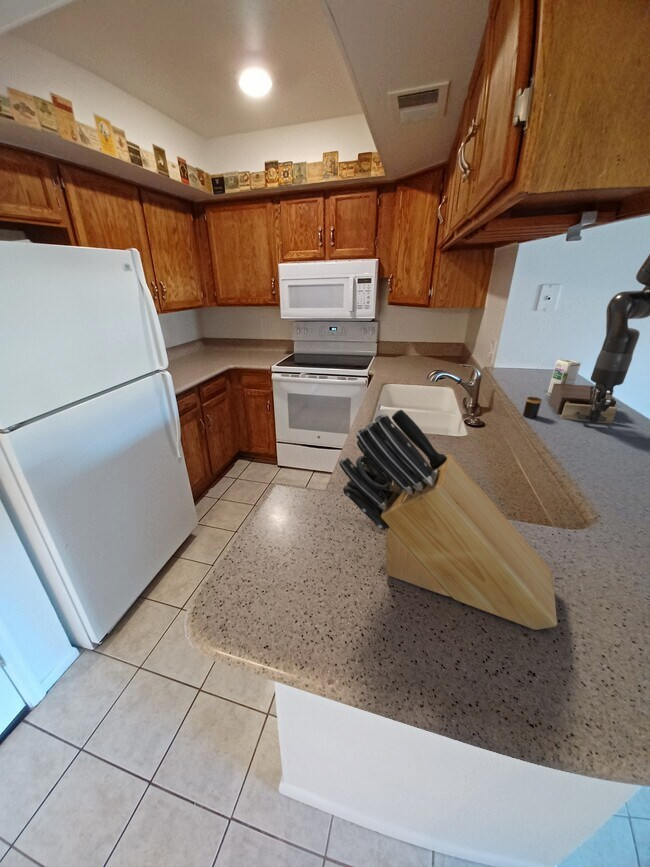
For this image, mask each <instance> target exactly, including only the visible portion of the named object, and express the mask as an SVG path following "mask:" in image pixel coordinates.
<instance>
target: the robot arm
mask: <svg viewBox="0 0 650 867" xmlns="http://www.w3.org/2000/svg"><path fill="white" fill-rule="evenodd" d="M635 279H636V281H637V283H639V284H641V285H644V288H642V289H641V290H626V291H620V292H618V293H616V294H615V295H614V296H613V297H612V298H611V299H610V300H609V302H608V304H607V307H606V310H605V311H606V316H605V317H606V320H605V321H606V324H605V330H606V331H605V338H604V340H603V343H602V346H601V350H600V351H599V353H598V356H597V358H596V361H595V364H594V367H593V369H592V373H591V375H590V381H591V382H593V383H595V385H590V386H591V390H590V402H589V404H591V406H590V408H592V409H591V410H590V413H589V416H588V420H589V421H588V422H589V423H598V422H597V421H598V419H599V416H600V413H601V411H604V412H605V411H606V410H607V409H608V408H609V407H610V406H611V405H612V404H613V402H614V399H615V398H614V399H610V397H611V396H612V397H613V395H614V388H615V387H616V386H620V385H621V386H622V384H624V382H625V380H626V377H627V374H628V371H629V368H630V366H631V363H632V361H633V355H634V352H635V349H636V347H637V344H638V342H639V338H640V331H639V330H638V329H636V328H634V327H633V328H632V327H629V320H639V319H640V320H641V319H646V318H649V317H650V254H649V255H648V256H647V257H646V259H645V261H644V262H643V263H642V265H641V266H640V267H639V269H638V271H637V273H636V275H635Z"/></svg>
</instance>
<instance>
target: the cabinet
mask: <svg viewBox="0 0 650 867" xmlns="http://www.w3.org/2000/svg"><path fill="white" fill-rule="evenodd" d="M591 386H592V385H585V384H584V385H583V384H574V385H570V384H555V383H554V385H553V388H552V392H551V396H549V399H548V405H549V404H550V405H549V407H553V408H554V410H555V413H556V414H557V415H561V414H562V413H561V409H562V406H563V403H564V400H573V401H586V402H590V390H591ZM610 399H614V402H613V404H612V405H611V407H616V404H617V400H616V399H615V398H614V397H613V395H612V396H611V397H610Z"/></svg>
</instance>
